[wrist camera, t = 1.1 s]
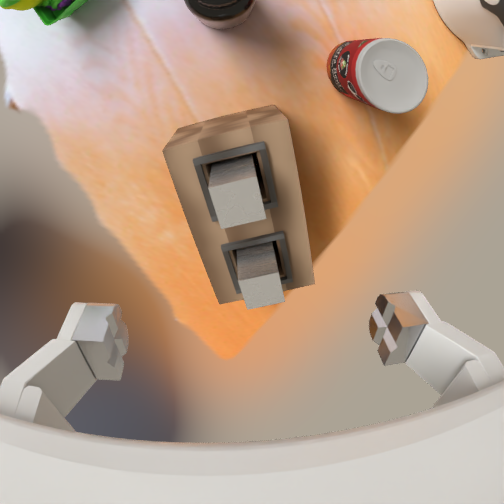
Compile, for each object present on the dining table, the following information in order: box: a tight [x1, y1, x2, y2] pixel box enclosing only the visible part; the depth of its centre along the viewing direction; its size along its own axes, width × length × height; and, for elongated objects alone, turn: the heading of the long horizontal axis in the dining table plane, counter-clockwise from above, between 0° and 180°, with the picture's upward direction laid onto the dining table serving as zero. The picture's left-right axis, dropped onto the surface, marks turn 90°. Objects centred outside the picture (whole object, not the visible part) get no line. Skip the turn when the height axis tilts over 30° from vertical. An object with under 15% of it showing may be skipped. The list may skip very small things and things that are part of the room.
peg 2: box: [237, 241, 285, 310], centre depth 36 cm, size 4×4×9 cm
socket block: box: [163, 105, 315, 304], centre depth 37 cm, size 12×20×11 cm, turn 13°
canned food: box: [327, 38, 428, 113], centre depth 29 cm, size 8×8×11 cm
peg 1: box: [208, 153, 266, 229], centre depth 30 cm, size 4×4×9 cm
